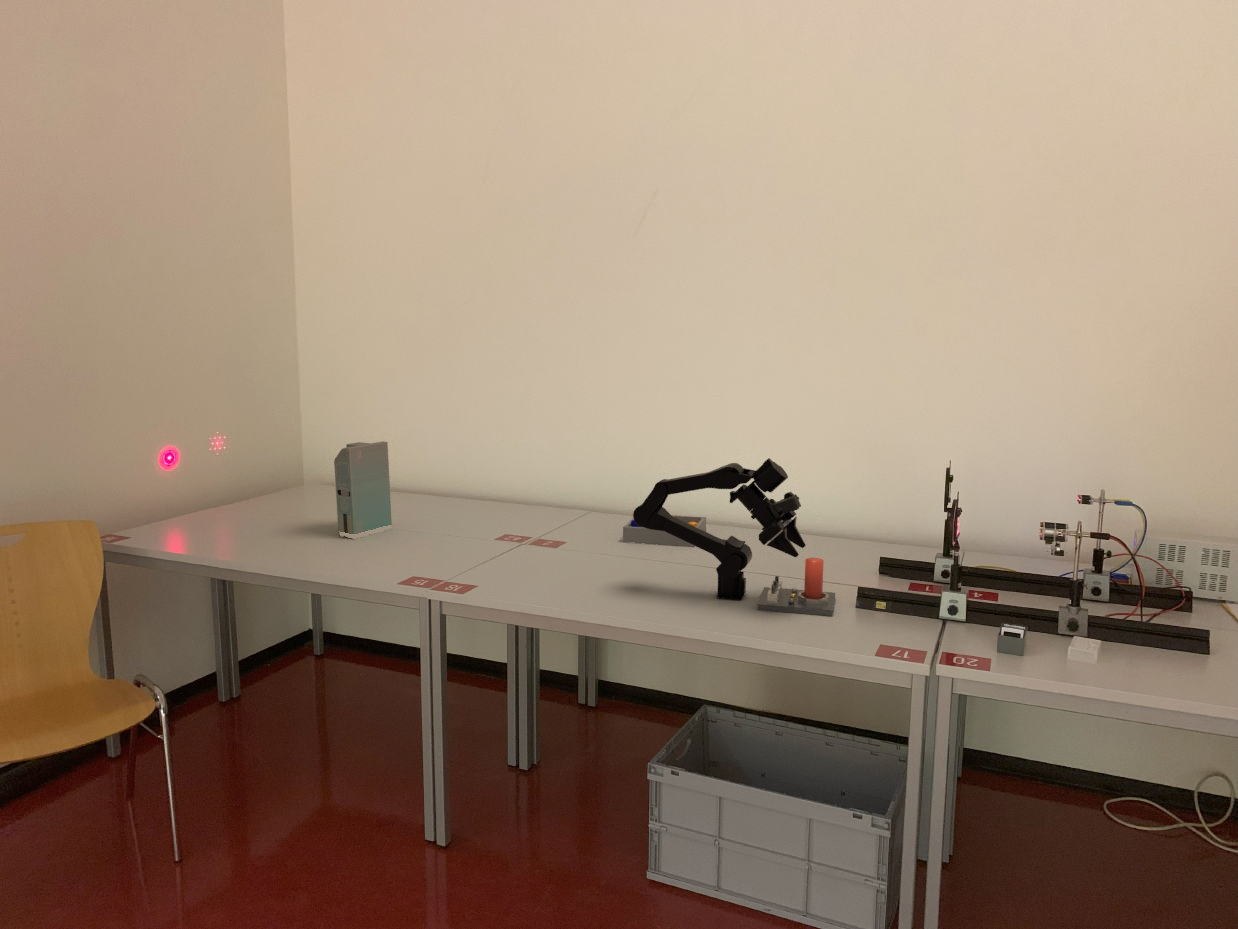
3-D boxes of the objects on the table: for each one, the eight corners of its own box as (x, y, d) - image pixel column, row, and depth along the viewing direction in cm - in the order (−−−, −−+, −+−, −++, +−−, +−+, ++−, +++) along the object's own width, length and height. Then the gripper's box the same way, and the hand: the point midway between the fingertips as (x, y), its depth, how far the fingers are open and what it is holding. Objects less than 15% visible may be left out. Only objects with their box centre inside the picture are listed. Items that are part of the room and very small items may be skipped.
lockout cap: (803, 601, 220) (804, 561, 219) (804, 595, 224) (806, 557, 223) (821, 602, 219) (823, 563, 217) (822, 597, 223) (824, 558, 222)
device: (376, 526, 307) (371, 440, 302) (392, 529, 303) (387, 441, 298) (338, 536, 293) (332, 446, 288) (354, 539, 289) (349, 448, 284)
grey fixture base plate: (757, 609, 219) (757, 588, 218) (764, 592, 232) (764, 572, 231) (832, 616, 214) (833, 594, 213) (835, 598, 227) (835, 577, 226)
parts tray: (623, 542, 284) (623, 526, 283) (639, 527, 303) (639, 513, 302) (694, 547, 277) (694, 531, 277) (706, 531, 296) (706, 517, 296)
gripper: (773, 490, 212) (818, 540, 210) (789, 477, 229) (831, 522, 227) (740, 520, 216) (784, 569, 214) (758, 504, 233) (799, 549, 231)
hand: (800, 551), depth 221 cm, fingers open, 9 cm apart
